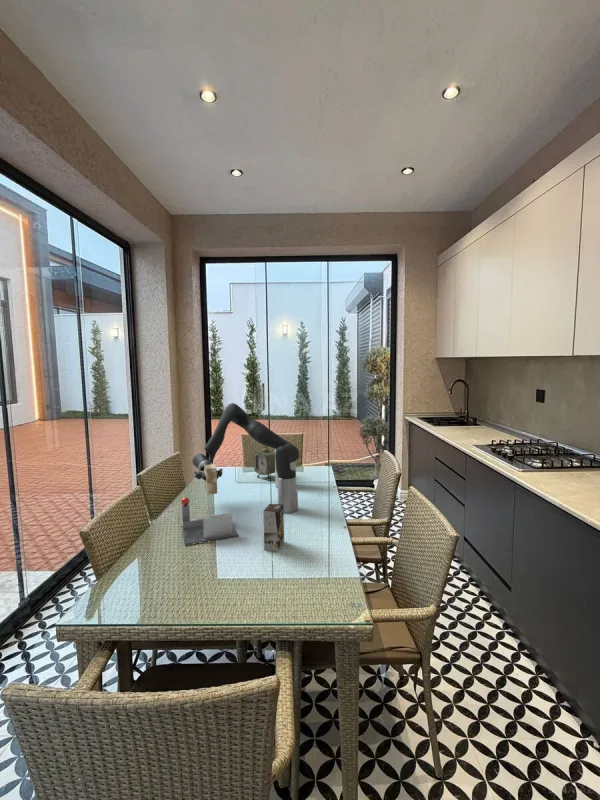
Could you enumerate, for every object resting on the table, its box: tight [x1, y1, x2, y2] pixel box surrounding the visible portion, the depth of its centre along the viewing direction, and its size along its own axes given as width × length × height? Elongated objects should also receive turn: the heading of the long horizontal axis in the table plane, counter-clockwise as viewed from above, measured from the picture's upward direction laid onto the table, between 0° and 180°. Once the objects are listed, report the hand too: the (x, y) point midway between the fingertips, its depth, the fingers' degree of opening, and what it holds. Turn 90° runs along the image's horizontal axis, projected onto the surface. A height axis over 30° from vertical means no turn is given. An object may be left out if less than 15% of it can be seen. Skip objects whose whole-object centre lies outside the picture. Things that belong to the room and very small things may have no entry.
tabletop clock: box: [253, 444, 275, 482], centre depth 256 cm, size 14×9×25 cm, turn 43°
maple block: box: [204, 463, 218, 495], centre depth 183 cm, size 4×8×12 cm, turn 21°
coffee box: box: [263, 503, 285, 552], centre depth 159 cm, size 9×6×16 cm
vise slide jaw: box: [180, 496, 230, 529], centre depth 179 cm, size 21×4×14 cm, turn 111°
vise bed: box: [180, 513, 239, 546], centre depth 173 cm, size 22×20×9 cm
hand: (211, 477), depth 181 cm, fingers closed on maple block, 4 cm apart
